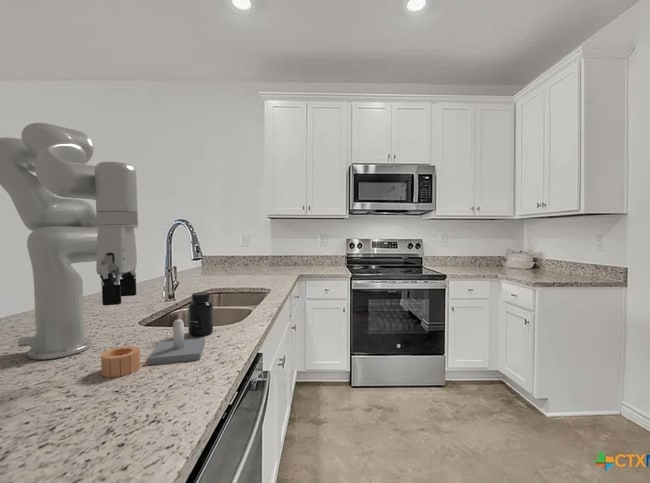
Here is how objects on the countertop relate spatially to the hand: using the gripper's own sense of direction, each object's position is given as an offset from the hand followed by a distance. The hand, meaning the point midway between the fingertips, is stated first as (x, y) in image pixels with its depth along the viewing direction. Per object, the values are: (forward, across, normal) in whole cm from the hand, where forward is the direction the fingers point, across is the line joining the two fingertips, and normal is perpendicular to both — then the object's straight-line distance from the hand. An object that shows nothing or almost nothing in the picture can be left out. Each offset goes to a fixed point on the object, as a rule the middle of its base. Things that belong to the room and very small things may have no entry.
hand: (120, 299), depth 70 cm
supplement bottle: (+16, -22, +13) cm, 31 cm away
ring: (+16, 0, -1) cm, 16 cm away
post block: (+16, -8, +10) cm, 20 cm away
